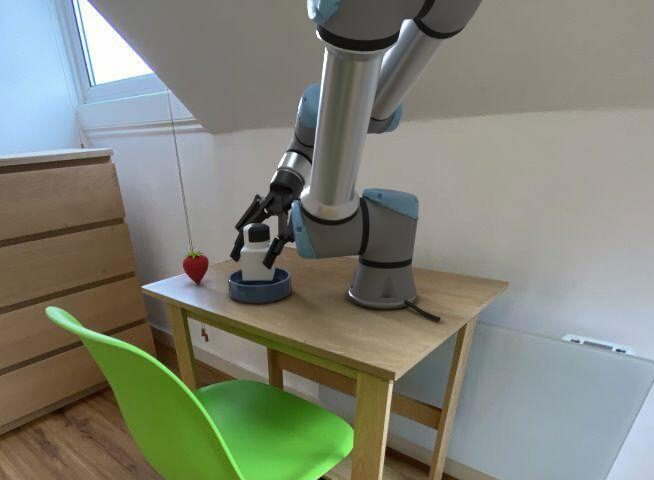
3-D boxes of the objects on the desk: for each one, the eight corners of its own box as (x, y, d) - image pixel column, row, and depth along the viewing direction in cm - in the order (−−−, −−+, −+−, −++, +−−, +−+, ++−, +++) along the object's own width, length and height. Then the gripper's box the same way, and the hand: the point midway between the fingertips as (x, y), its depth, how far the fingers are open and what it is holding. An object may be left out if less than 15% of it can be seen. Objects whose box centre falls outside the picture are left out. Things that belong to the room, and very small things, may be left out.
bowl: (303, 293, 106) (303, 275, 104) (254, 310, 98) (253, 291, 96) (264, 279, 116) (263, 262, 114) (217, 294, 108) (215, 276, 106)
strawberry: (216, 281, 116) (212, 243, 111) (196, 290, 111) (191, 250, 106) (200, 278, 119) (195, 241, 114) (180, 286, 114) (174, 247, 109)
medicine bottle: (275, 271, 108) (273, 220, 101) (272, 280, 102) (270, 228, 95) (247, 271, 108) (243, 221, 102) (242, 281, 102) (238, 228, 96)
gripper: (335, 193, 99) (294, 279, 98) (262, 187, 112) (225, 263, 110) (323, 170, 93) (278, 261, 91) (247, 166, 106) (207, 247, 104)
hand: (249, 262), depth 101 cm, fingers closed on medicine bottle, 10 cm apart
